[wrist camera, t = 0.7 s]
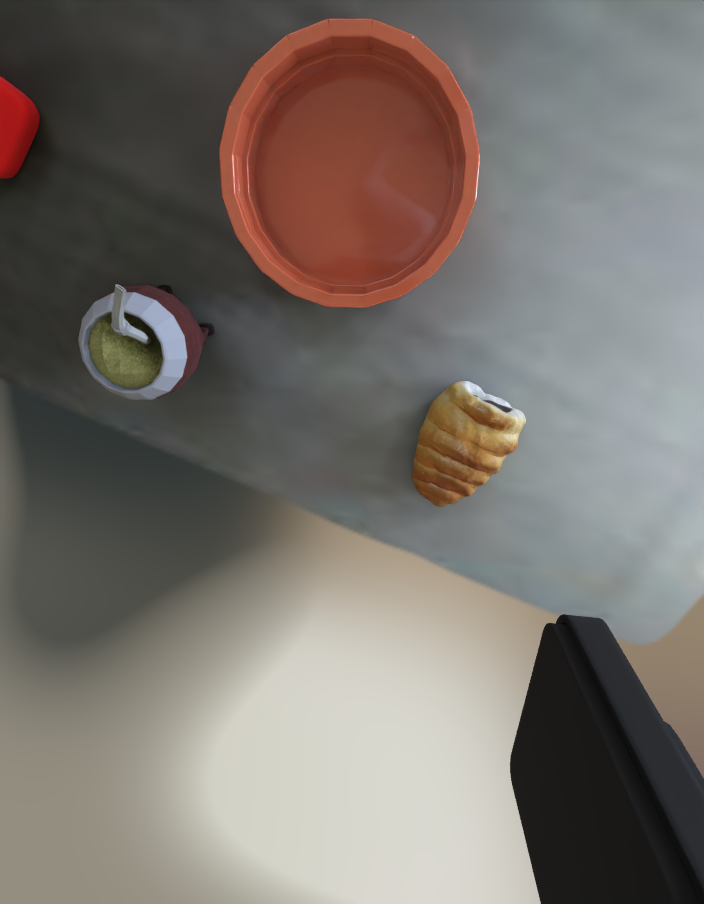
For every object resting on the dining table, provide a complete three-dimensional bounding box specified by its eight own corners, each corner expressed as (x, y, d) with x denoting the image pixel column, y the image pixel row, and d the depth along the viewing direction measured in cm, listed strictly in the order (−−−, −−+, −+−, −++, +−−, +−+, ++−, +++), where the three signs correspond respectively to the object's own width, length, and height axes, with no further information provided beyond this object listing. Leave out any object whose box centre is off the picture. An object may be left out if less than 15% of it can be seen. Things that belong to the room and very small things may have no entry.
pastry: (465, 509, 44) (472, 533, 41) (389, 475, 44) (389, 496, 40) (528, 407, 41) (541, 424, 37) (446, 368, 40) (452, 381, 37)
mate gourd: (132, 378, 42) (6, 451, 28) (113, 267, 39) (-38, 288, 25) (230, 376, 41) (151, 450, 28) (218, 264, 39) (123, 284, 25)
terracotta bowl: (207, 96, 35) (179, 76, 30) (436, 8, 33) (444, -29, 28) (284, 324, 40) (271, 336, 35) (488, 261, 37) (502, 266, 33)
